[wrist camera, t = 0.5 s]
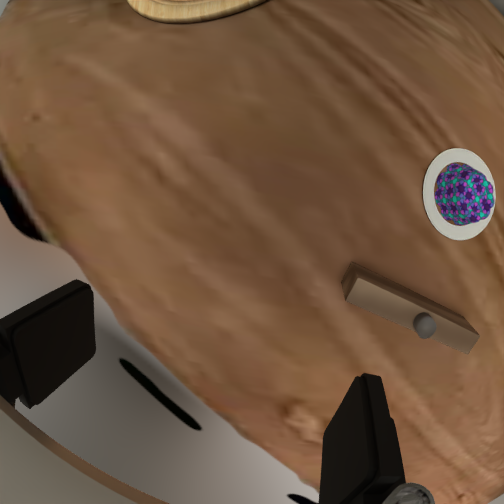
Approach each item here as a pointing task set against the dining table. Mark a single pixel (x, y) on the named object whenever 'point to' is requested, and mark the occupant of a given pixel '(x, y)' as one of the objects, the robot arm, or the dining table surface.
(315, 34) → the dining table surface
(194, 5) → the wooden plate with food
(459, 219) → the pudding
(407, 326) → the rail
